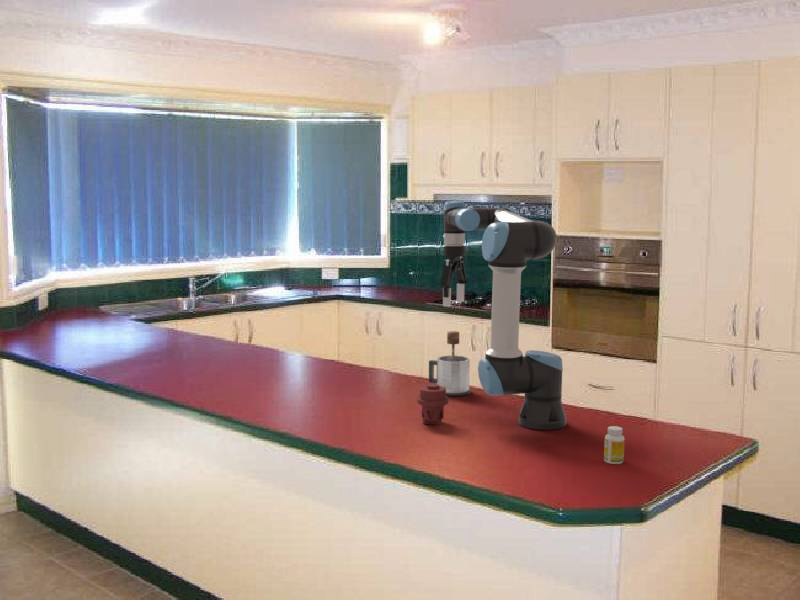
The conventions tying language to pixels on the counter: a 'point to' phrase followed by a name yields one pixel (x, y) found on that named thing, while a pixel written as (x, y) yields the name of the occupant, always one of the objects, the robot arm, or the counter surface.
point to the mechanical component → (432, 403)
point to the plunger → (453, 341)
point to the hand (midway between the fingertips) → (453, 303)
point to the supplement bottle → (614, 445)
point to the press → (451, 374)
